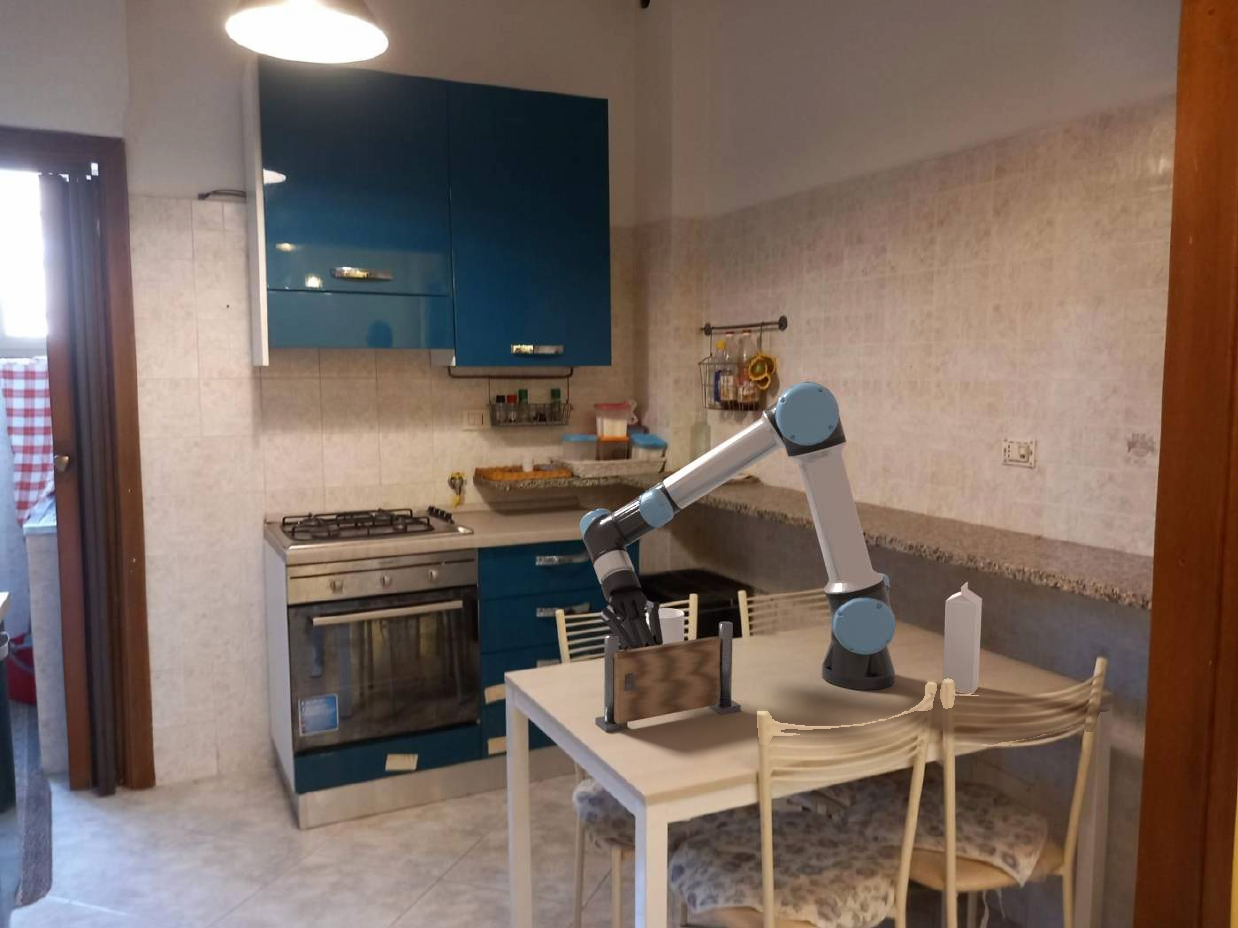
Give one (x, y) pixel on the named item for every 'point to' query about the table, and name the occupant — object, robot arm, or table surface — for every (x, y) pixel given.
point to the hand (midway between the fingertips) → (658, 682)
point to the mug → (670, 625)
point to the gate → (666, 679)
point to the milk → (962, 640)
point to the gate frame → (722, 708)
